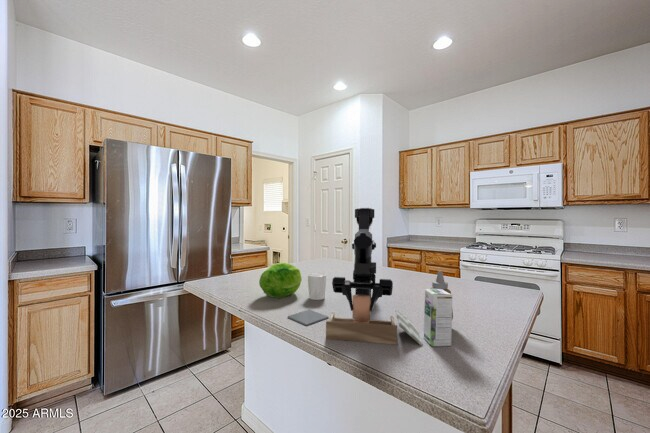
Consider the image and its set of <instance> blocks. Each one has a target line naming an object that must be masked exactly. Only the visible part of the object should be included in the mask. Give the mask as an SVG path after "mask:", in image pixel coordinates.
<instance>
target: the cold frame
mask: <svg viewBox="0 0 650 433" xmlns="http://www.w3.org/2000/svg"><path fill="white" fill-rule="evenodd" d="M395 315H396V319H397V323H398V325H396V322H395V317H394V316H390V320H380V319H370V320H369V323H356V322H354V319H353V317H352V318H351V317H349V318H348V317H335V312H331V314H330V317H329V318H328V319H329V320H328V319H325V320H326V321H325V339H326V340H337V341H350V342H351V341H352V342H362V343H363V342H364V343H373V344H374V343H376V344H387V345H388V344H389V345H398V327H400V328H401V329H402V330H403V331H404V332H405V333H406V334H407V335H408V336H410V337H411V338H412V339H413V340H414V341H415V342H416V343H417V344H419V346H423V345H424V344H423V342H422V338H421V336H420V334H419V333H420V332H419V330H418V329H417V326H416V325H415V324H413V323H412V321H410V320H409V319H407V317H405V316H404V315H403V314H402V313H401V312H400V311H399V310H398V309H395Z"/></svg>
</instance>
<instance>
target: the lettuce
mask: <svg viewBox="0 0 650 433" xmlns="http://www.w3.org/2000/svg"><path fill="white" fill-rule="evenodd" d="M301 283H302V273H301V271H300V269H299V268H298V267H296V266H295V265H292V264H290V263H287V262H278V263H274V264H272V265H271V266H269V267H268V268H266V269H265V270H264V271H263V272H262V274H261V275H260V277H259V287H260V289H261V290H262V291H263V294H265V295H266V296H268V297H270V298H276V299H282V298H286V297H288V296H291V295H292V294H294V293H296V292H297V291H298V290H299V288H300V286H301Z"/></svg>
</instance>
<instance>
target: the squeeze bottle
mask: <svg viewBox="0 0 650 433" xmlns="http://www.w3.org/2000/svg"><path fill="white" fill-rule="evenodd" d="M431 283H432V284H431V285H432V287H430V288H429V289H443V290H444V291H446V292H448V293H450V294H452V292H451V290H450V289H449V283H448V282H446V281H445V278H444V273H443V270H438V271H437V275H436V279H435V280H432V282H431ZM453 319H454V311H453V308H452V320H453Z"/></svg>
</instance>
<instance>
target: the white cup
mask: <svg viewBox="0 0 650 433" xmlns="http://www.w3.org/2000/svg"><path fill="white" fill-rule="evenodd" d="M326 285H327V274H326V273H323V272H311V273H308V274H307V287H308V298H309V299H310V300H312V301H321V300H324V299H325V298H326V288H327V287H326Z"/></svg>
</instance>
